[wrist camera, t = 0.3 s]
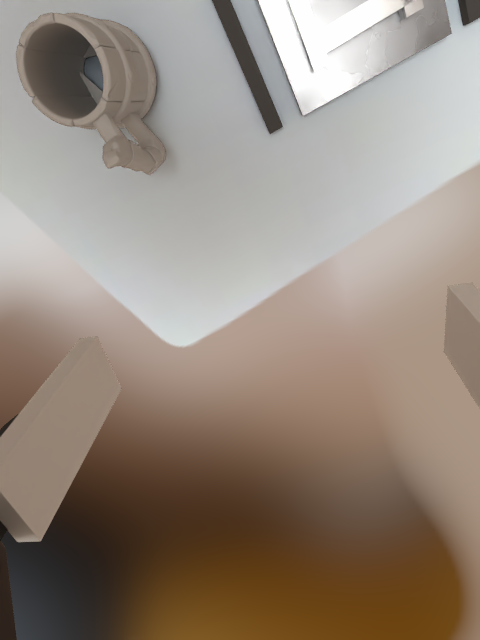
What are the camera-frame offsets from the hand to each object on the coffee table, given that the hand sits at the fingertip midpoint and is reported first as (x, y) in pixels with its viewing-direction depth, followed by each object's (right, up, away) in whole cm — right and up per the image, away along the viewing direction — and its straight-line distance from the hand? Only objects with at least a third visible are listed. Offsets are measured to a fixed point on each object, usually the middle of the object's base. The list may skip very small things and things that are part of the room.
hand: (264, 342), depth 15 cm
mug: (-11, +21, +20) cm, 31 cm away
